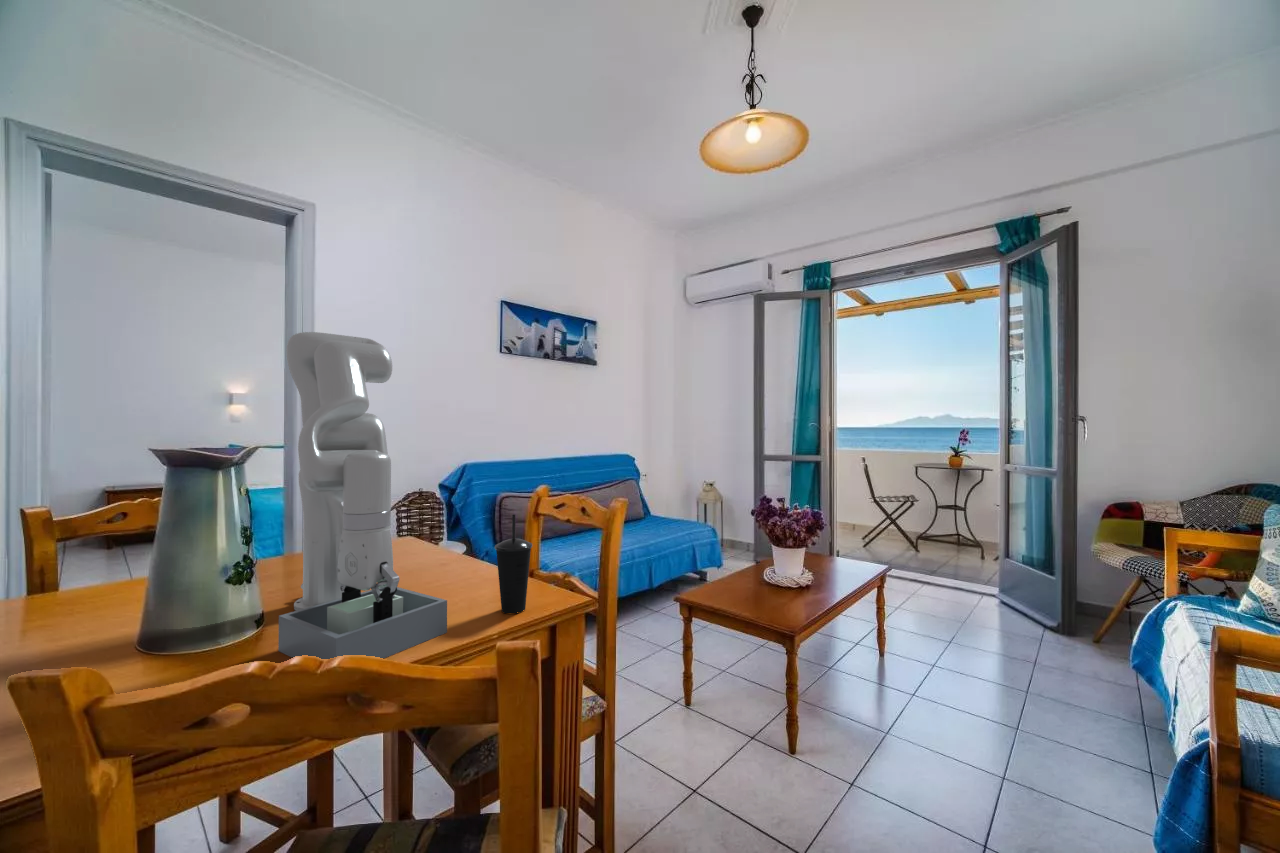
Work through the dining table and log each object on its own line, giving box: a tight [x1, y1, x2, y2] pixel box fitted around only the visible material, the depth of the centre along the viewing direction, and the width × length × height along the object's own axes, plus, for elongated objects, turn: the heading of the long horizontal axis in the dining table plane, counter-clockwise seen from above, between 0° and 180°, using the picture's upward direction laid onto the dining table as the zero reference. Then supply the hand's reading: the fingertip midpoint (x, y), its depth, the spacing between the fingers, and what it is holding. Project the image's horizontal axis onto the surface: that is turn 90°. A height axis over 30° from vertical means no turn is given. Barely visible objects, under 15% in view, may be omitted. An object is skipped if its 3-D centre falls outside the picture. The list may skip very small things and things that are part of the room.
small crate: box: [327, 591, 403, 635], centre depth 89 cm, size 6×10×6 cm, turn 149°
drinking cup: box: [494, 514, 533, 614], centre depth 105 cm, size 8×8×20 cm
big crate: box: [277, 586, 448, 659], centre depth 89 cm, size 18×20×6 cm
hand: (366, 617), depth 89 cm, fingers open, 9 cm apart
